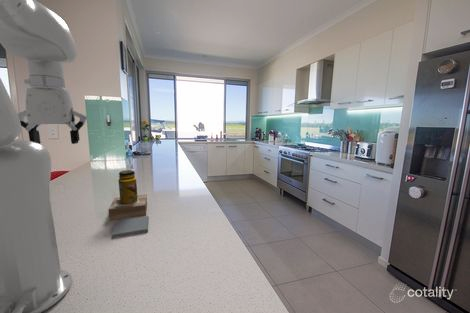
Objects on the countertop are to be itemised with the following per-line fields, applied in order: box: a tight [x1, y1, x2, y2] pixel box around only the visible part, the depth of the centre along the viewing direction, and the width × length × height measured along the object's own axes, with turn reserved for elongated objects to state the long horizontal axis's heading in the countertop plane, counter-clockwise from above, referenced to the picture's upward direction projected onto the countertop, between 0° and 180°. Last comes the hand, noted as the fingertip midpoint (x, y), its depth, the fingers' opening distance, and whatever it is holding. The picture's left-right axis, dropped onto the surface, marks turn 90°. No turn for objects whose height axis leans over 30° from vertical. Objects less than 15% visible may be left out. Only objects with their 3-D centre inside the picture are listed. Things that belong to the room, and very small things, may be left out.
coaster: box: [111, 215, 150, 238], centre depth 70 cm, size 10×10×1 cm
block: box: [108, 194, 148, 221], centre depth 82 cm, size 12×12×4 cm
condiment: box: [112, 169, 140, 207], centre depth 80 cm, size 7×8×12 cm
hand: (56, 143), depth 63 cm, fingers open, 9 cm apart
